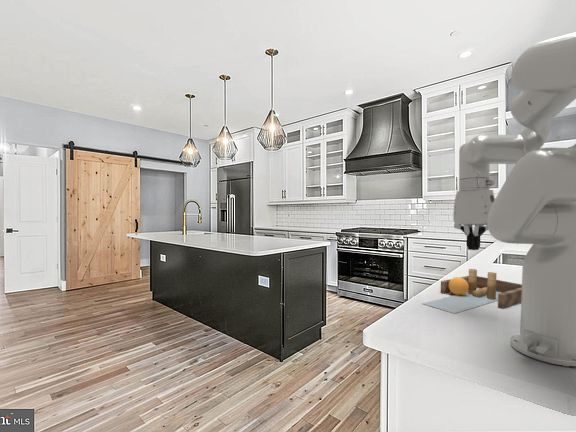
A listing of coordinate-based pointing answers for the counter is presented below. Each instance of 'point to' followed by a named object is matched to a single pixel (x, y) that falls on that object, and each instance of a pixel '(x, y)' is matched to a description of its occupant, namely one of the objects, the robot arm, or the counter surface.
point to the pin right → (491, 285)
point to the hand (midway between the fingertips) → (473, 249)
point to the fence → (508, 289)
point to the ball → (458, 286)
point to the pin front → (480, 292)
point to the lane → (460, 302)
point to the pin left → (472, 280)
